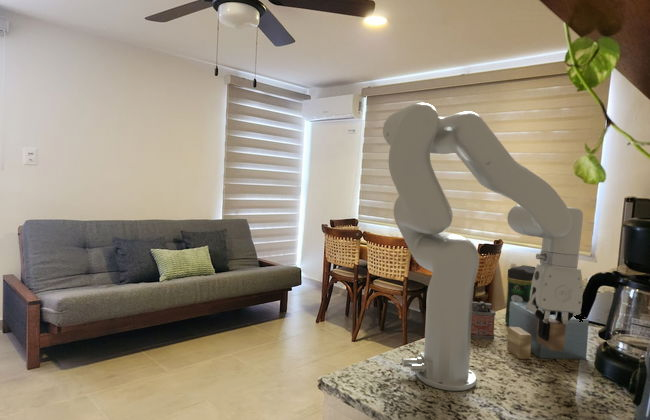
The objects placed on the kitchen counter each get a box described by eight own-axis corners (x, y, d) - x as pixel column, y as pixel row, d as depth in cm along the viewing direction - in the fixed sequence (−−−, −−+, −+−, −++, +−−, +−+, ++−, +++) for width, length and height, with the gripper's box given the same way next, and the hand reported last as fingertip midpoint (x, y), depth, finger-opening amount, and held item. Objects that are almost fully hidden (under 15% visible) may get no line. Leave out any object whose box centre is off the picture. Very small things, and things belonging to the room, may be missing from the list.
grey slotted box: (540, 358, 104) (542, 318, 104) (508, 335, 120) (510, 301, 120) (586, 358, 105) (588, 319, 105) (548, 336, 121) (550, 302, 121)
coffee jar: (514, 318, 137) (518, 262, 136) (540, 325, 131) (543, 266, 130) (500, 324, 131) (503, 265, 130) (526, 331, 125) (529, 269, 124)
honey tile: (519, 358, 104) (520, 334, 104) (507, 349, 110) (508, 326, 110) (529, 358, 104) (531, 335, 104) (517, 349, 110) (518, 327, 110)
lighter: (492, 335, 120) (494, 301, 120) (495, 339, 117) (497, 304, 116) (463, 333, 121) (465, 299, 120) (466, 337, 118) (467, 302, 117)
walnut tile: (551, 350, 94) (553, 323, 94) (536, 341, 100) (538, 316, 100) (563, 351, 94) (566, 324, 94) (547, 342, 100) (549, 317, 100)
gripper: (534, 260, 92) (525, 342, 92) (604, 266, 93) (594, 347, 94) (516, 255, 99) (508, 331, 100) (581, 260, 100) (572, 335, 101)
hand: (550, 338), depth 97 cm, fingers closed on walnut tile, 2 cm apart
